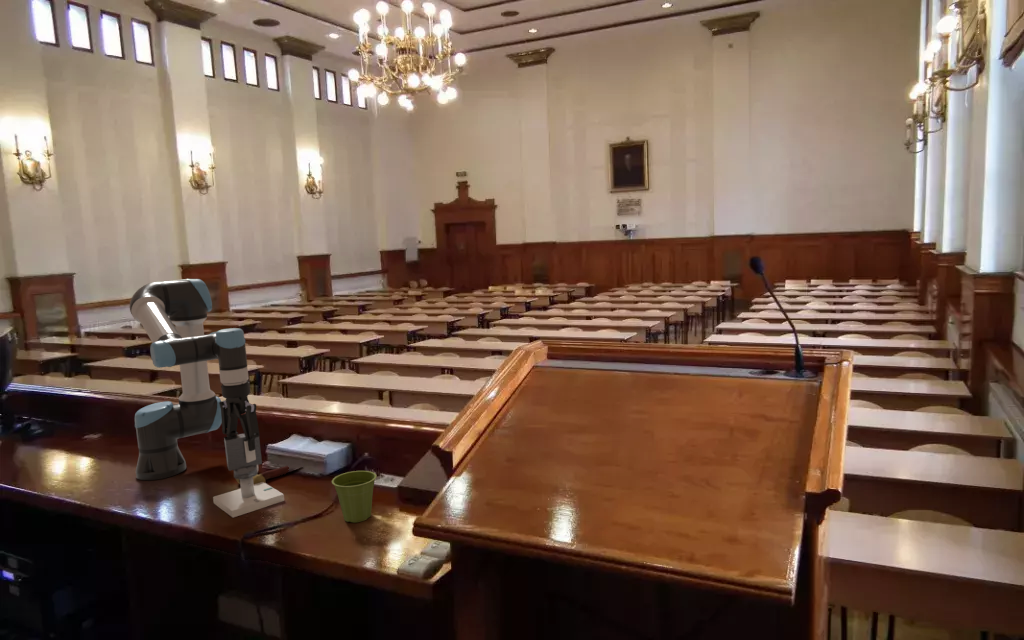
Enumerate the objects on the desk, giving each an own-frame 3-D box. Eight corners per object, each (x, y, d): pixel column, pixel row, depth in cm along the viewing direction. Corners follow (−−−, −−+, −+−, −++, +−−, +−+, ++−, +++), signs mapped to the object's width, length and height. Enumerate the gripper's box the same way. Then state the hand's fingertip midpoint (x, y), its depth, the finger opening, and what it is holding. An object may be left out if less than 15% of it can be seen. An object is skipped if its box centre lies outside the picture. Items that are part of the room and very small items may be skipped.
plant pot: (388, 515, 180) (385, 475, 178) (352, 531, 171) (348, 490, 170) (362, 504, 188) (359, 467, 186) (326, 519, 179) (323, 480, 178)
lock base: (213, 503, 194) (210, 477, 193) (263, 487, 205) (260, 463, 203) (232, 517, 184) (229, 490, 182) (284, 500, 194) (281, 474, 193)
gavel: (294, 456, 224) (311, 461, 218) (294, 469, 225) (311, 475, 218) (235, 471, 208) (251, 477, 202) (236, 485, 209) (252, 492, 202)
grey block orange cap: (230, 482, 188) (225, 439, 186) (228, 475, 194) (223, 434, 192) (263, 474, 192) (259, 433, 191) (260, 468, 198) (255, 428, 196)
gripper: (268, 382, 187) (276, 459, 190) (225, 377, 197) (233, 451, 200) (245, 388, 181) (254, 468, 184) (202, 382, 191) (211, 458, 194)
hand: (243, 459), depth 192 cm, fingers closed on grey block orange cap, 6 cm apart
